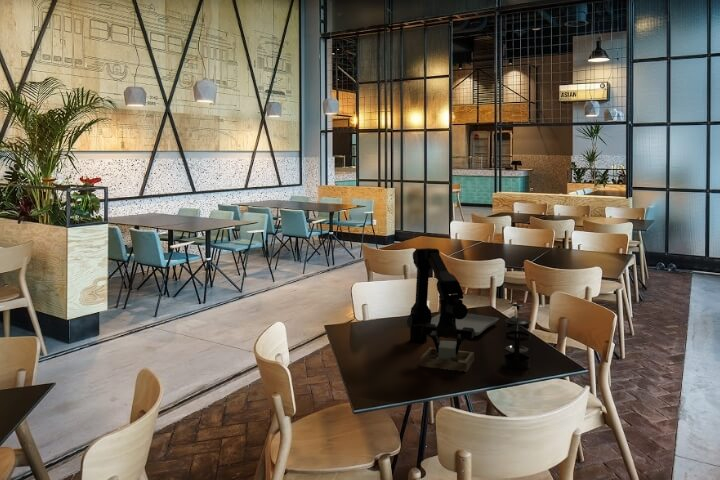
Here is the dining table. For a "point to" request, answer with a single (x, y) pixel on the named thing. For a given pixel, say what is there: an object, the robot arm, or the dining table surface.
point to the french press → (517, 344)
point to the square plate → (471, 322)
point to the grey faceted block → (447, 350)
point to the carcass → (458, 363)
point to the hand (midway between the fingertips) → (447, 353)
